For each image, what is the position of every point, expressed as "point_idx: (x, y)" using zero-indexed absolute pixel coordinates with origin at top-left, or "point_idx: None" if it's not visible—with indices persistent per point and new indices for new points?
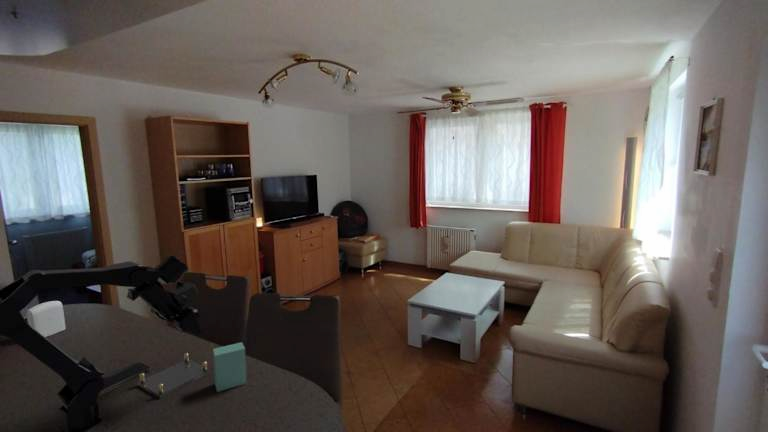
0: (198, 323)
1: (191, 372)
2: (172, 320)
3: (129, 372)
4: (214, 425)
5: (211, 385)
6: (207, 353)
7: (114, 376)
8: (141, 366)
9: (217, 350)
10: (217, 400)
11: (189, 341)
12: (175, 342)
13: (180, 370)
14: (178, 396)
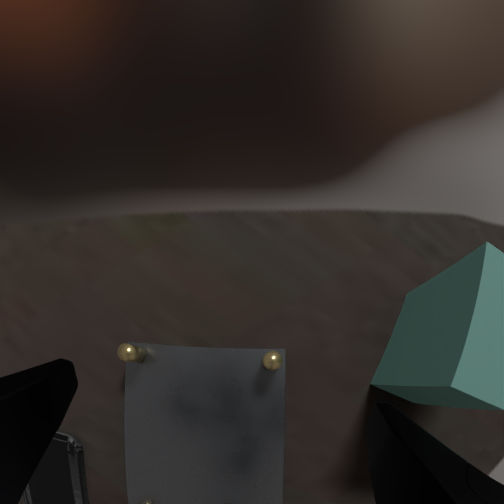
0: (481, 474)
1: (239, 404)
2: (15, 487)
3: (46, 473)
4: (500, 461)
5: (367, 396)
6: (147, 263)
7: (39, 498)
8: None
9: (480, 376)
10: (446, 421)
11: (33, 243)
12: (5, 271)
13: (184, 415)
14: (323, 492)
